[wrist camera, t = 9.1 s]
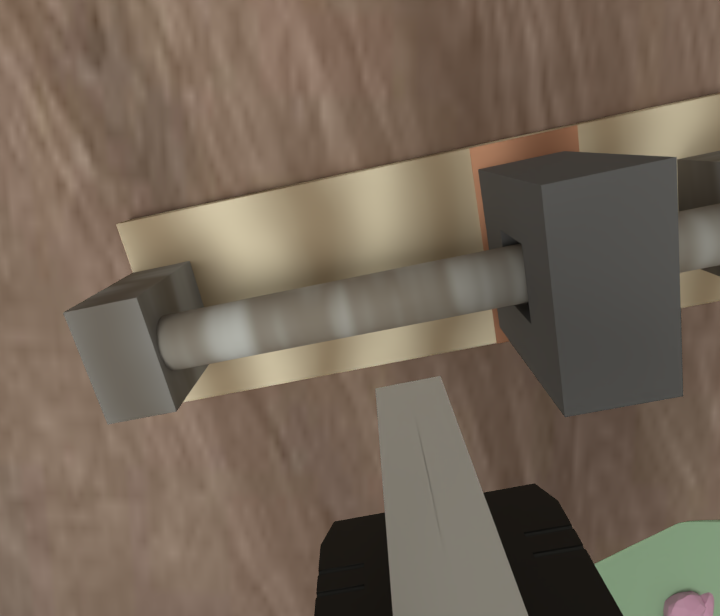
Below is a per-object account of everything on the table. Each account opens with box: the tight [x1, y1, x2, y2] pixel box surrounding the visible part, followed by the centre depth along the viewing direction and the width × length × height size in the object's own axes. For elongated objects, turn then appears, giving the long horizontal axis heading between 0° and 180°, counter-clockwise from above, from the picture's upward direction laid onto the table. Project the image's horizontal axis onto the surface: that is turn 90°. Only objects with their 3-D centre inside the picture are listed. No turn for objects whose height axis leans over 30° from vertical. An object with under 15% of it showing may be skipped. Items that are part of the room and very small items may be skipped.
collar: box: [478, 151, 683, 417], centre depth 21 cm, size 4×8×9 cm, turn 12°
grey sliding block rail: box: [63, 93, 720, 424], centre depth 24 cm, size 30×10×8 cm, turn 102°
